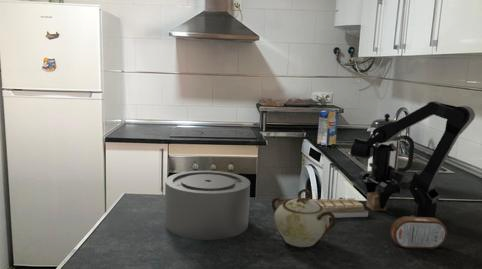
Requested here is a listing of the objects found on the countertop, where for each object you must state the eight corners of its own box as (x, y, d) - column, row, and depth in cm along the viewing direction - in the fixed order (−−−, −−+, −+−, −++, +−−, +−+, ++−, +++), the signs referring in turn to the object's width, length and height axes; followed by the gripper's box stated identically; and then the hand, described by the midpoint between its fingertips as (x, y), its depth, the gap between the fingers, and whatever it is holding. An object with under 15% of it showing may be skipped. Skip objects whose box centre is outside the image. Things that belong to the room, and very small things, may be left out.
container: (157, 213, 134) (158, 172, 132) (231, 207, 143) (233, 169, 141) (174, 244, 111) (175, 196, 109) (261, 235, 120) (263, 190, 118)
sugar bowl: (344, 243, 117) (349, 190, 114) (319, 261, 105) (324, 203, 103) (284, 224, 128) (286, 177, 126) (255, 239, 117) (258, 186, 114)
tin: (441, 245, 118) (444, 216, 117) (447, 250, 115) (450, 220, 114) (388, 244, 118) (391, 215, 116) (392, 248, 114) (395, 219, 113)
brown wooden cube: (386, 210, 146) (388, 196, 146) (373, 210, 145) (374, 196, 144) (379, 205, 151) (380, 191, 151) (366, 206, 150) (367, 192, 150)
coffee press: (387, 188, 174) (394, 116, 169) (356, 179, 187) (362, 112, 182) (411, 183, 184) (418, 115, 179) (380, 175, 197) (386, 111, 192)
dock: (367, 216, 139) (368, 211, 139) (313, 218, 135) (314, 212, 135) (355, 207, 148) (355, 202, 147) (304, 208, 144) (304, 203, 144)
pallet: (364, 211, 140) (364, 204, 139) (315, 212, 136) (316, 206, 136) (354, 204, 146) (354, 198, 146) (308, 205, 143) (308, 199, 143)
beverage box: (316, 145, 267) (319, 111, 263) (326, 144, 274) (328, 110, 271) (326, 147, 262) (328, 112, 258) (335, 145, 270) (338, 111, 266)
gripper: (418, 168, 138) (412, 213, 141) (387, 156, 156) (383, 196, 159) (387, 168, 136) (382, 214, 138) (359, 156, 154) (356, 197, 157)
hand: (376, 205), depth 148 cm, fingers open, 7 cm apart
